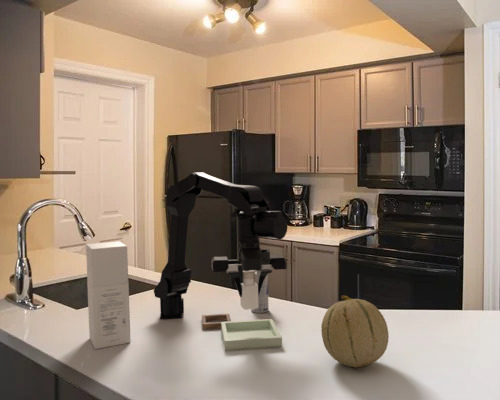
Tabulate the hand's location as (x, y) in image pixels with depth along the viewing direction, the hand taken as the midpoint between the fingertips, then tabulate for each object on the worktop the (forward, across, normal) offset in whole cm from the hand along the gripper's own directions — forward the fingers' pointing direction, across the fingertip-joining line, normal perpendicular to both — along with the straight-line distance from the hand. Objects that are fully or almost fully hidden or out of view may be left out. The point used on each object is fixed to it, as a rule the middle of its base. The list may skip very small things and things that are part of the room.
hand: (249, 296), depth 118 cm
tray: (+11, 0, 0) cm, 11 cm away
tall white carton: (+12, -36, +5) cm, 38 cm away
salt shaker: (+3, 0, 0) cm, 3 cm away
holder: (+11, -8, +13) cm, 19 cm away
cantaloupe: (+11, +21, -19) cm, 31 cm away
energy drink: (+12, +6, +23) cm, 26 cm away
